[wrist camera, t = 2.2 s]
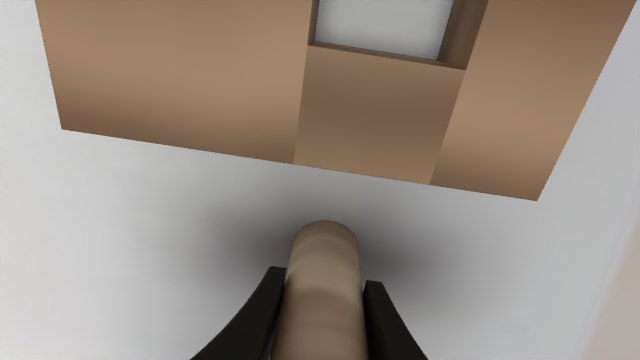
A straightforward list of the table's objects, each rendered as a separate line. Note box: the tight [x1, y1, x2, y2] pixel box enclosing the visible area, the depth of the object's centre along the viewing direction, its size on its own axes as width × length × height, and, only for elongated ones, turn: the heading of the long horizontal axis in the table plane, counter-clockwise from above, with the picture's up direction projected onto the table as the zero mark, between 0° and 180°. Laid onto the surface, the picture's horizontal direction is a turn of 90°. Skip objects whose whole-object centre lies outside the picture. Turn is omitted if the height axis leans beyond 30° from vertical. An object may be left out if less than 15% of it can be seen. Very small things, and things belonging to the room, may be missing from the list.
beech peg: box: [269, 221, 369, 360], centre depth 12 cm, size 3×3×9 cm
